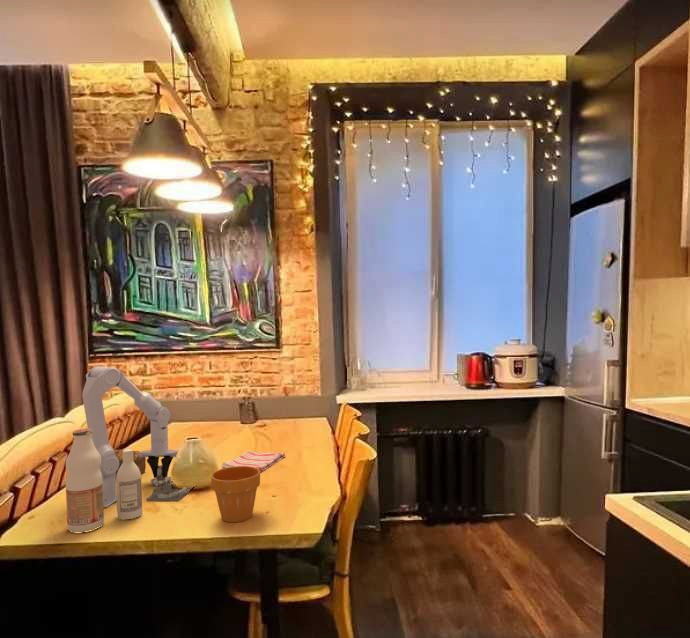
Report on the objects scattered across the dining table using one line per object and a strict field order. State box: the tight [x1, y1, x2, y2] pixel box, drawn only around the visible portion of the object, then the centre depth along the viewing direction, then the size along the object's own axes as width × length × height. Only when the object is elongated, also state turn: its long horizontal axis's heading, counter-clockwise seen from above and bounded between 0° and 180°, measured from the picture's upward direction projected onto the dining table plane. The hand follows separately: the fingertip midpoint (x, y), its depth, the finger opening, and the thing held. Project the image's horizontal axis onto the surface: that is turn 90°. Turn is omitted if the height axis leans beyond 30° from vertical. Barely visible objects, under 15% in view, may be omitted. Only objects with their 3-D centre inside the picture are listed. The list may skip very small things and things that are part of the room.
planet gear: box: [150, 464, 172, 487], centre depth 186 cm, size 7×7×6 cm
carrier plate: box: [145, 480, 191, 502], centre depth 175 cm, size 15×11×4 cm
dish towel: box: [221, 451, 286, 474], centre depth 207 cm, size 17×23×4 cm
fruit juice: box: [65, 428, 105, 532], centre depth 148 cm, size 9×9×28 cm
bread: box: [113, 449, 147, 476], centre depth 196 cm, size 19×11×10 cm, turn 86°
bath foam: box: [116, 448, 143, 520], centre depth 155 cm, size 7×7×20 cm
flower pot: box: [210, 466, 261, 523], centre depth 153 cm, size 14×14×13 cm
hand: (160, 476), depth 186 cm, fingers closed on planet gear, 3 cm apart
